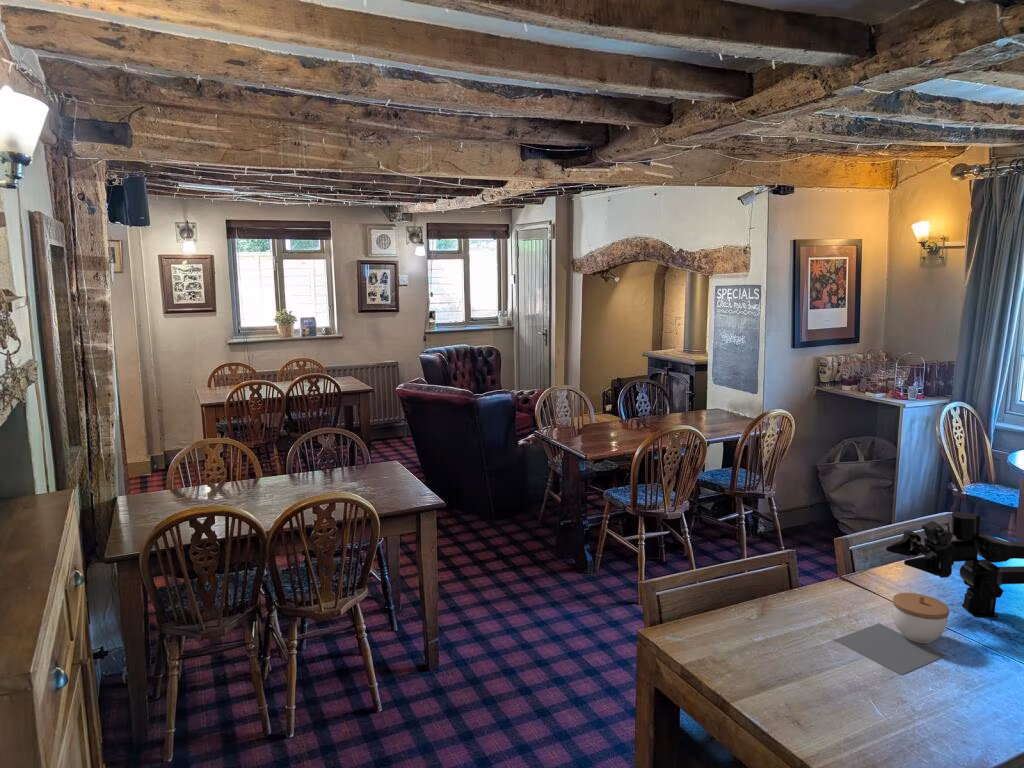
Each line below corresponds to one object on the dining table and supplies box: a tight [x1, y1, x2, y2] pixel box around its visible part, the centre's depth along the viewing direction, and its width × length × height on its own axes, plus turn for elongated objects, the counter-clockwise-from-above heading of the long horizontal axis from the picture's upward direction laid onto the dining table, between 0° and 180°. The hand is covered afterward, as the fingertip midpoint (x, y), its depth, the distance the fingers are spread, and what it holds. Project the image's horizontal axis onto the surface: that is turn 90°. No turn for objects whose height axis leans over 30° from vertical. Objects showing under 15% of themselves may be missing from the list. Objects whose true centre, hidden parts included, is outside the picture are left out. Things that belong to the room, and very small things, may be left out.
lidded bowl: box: [892, 592, 950, 644], centre depth 183 cm, size 13×13×11 cm
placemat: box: [834, 622, 947, 676], centre depth 178 cm, size 18×18×1 cm
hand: (895, 555), depth 194 cm, fingers open, 9 cm apart
